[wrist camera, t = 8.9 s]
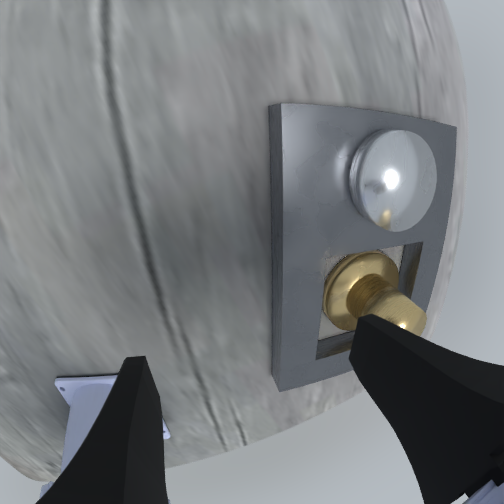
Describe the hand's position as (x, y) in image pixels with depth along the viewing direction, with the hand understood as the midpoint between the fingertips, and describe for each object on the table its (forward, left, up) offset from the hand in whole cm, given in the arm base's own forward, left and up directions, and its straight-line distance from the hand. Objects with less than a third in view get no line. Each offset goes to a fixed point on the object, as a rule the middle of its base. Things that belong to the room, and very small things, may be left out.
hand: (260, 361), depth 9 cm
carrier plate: (-2, -10, -9) cm, 14 cm away
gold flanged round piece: (-5, -10, -10) cm, 15 cm away
